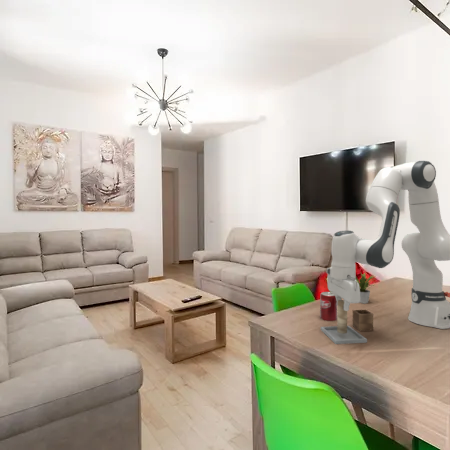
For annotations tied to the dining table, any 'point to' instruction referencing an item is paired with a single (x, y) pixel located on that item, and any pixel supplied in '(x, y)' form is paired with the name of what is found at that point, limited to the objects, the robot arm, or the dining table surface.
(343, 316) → the dowel
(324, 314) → the soda can
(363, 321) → the brown wooden box
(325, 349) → the dining table surface
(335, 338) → the tray
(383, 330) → the dining table surface
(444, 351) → the dining table surface
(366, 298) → the house plant
